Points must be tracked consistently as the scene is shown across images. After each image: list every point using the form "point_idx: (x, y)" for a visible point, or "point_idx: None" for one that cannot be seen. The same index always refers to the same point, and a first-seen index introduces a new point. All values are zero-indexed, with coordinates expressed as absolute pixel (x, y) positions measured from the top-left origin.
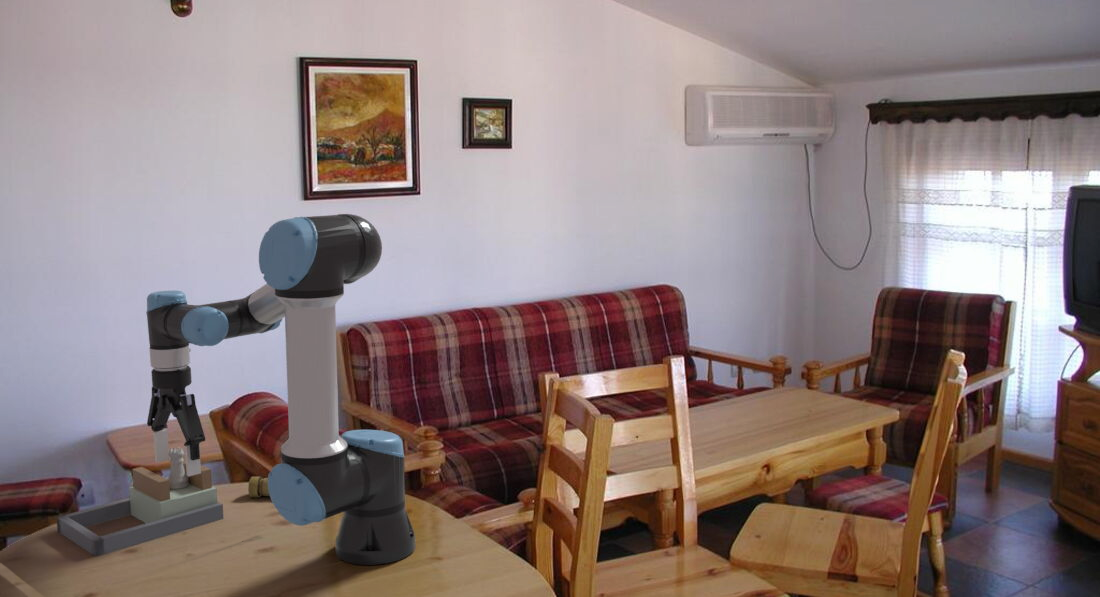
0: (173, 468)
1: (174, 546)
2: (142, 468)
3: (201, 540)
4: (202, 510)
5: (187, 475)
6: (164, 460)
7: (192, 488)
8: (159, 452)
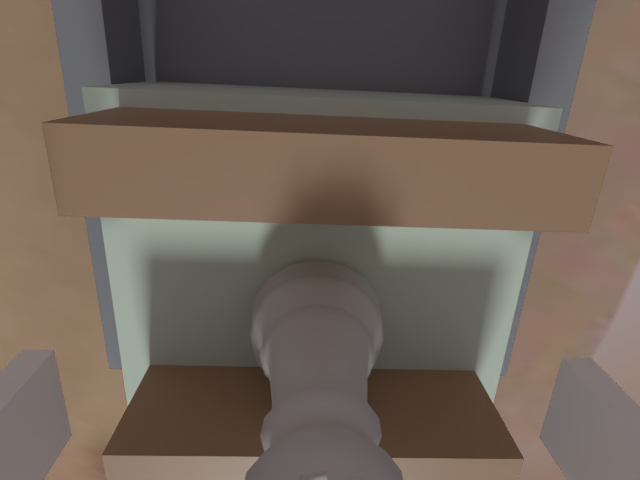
0: (296, 363)
1: (15, 60)
2: (543, 215)
3: (13, 176)
4: (95, 278)
5: (35, 352)
6: (549, 407)
7: (221, 344)
8: (608, 438)
